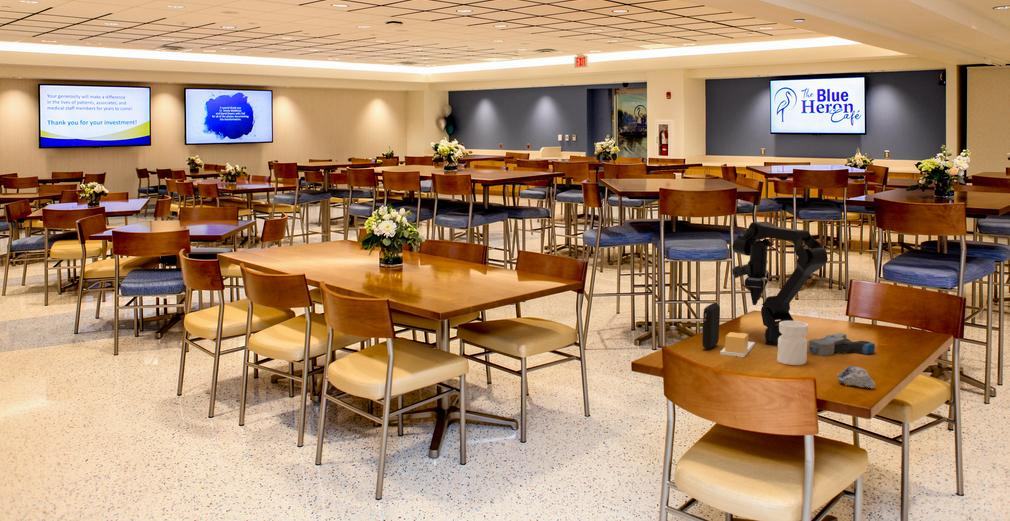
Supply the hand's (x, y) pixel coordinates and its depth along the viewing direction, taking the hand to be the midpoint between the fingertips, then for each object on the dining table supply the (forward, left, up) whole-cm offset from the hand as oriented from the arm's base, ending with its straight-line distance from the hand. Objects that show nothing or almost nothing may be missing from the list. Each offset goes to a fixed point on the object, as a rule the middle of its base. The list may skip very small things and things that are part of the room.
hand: (756, 302), depth 296 cm
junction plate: (+1, +20, -12) cm, 24 cm away
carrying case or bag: (+10, +22, -12) cm, 27 cm away
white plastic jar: (-17, +26, -12) cm, 34 cm away
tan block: (+1, +25, -11) cm, 27 cm away
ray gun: (-29, +9, -13) cm, 33 cm away
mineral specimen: (-37, +44, -13) cm, 58 cm away
